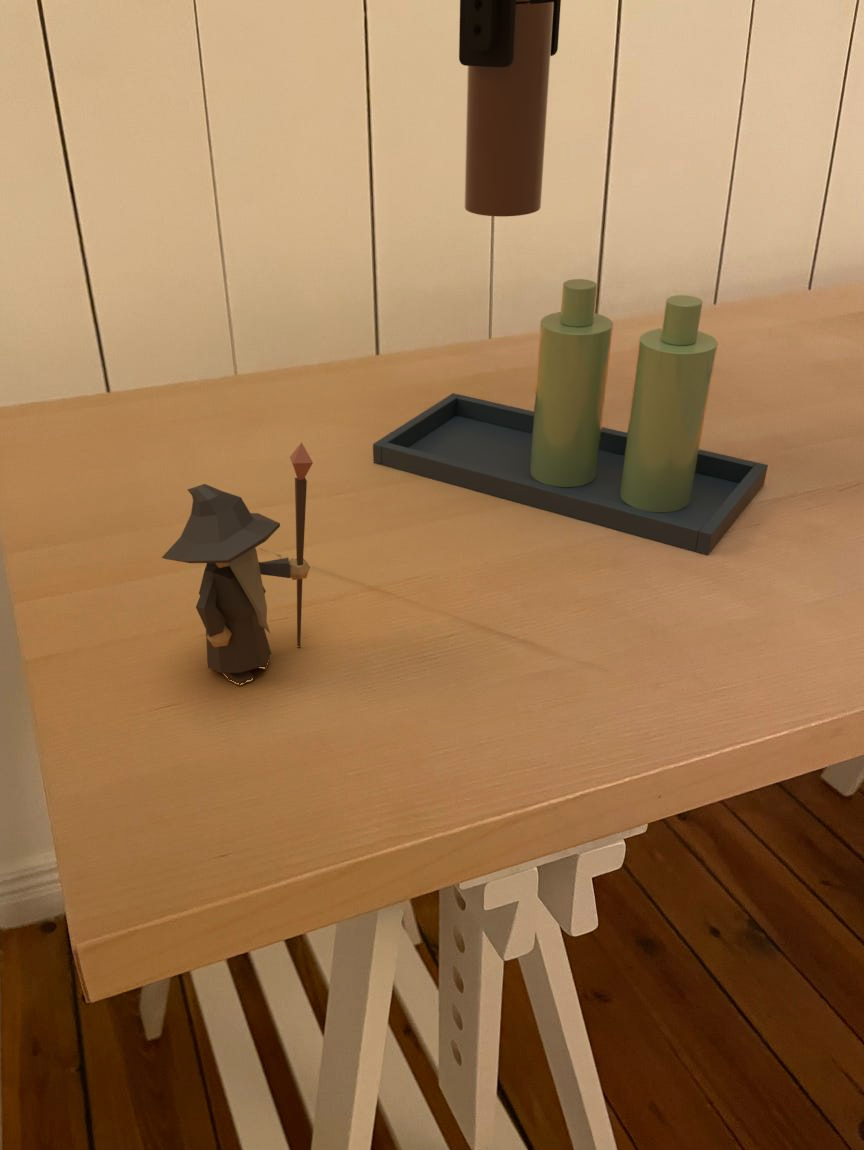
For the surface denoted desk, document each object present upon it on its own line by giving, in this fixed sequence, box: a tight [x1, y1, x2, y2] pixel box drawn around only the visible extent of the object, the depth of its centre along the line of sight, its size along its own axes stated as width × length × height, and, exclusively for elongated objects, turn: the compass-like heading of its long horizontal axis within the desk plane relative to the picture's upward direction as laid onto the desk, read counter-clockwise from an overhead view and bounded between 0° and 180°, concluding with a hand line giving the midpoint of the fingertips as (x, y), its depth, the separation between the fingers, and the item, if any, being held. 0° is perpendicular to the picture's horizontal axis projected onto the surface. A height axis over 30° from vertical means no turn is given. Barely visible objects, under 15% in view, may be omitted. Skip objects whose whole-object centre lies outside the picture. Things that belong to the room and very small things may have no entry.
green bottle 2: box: [620, 294, 719, 513], centre depth 66 cm, size 5×5×14 cm
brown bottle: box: [463, 0, 554, 218], centre depth 60 cm, size 5×5×14 cm
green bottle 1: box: [530, 278, 614, 487], centre depth 69 cm, size 5×5×14 cm
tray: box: [372, 392, 769, 556], centre depth 73 cm, size 26×12×2 cm, turn 56°
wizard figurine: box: [161, 442, 314, 685], centre depth 53 cm, size 8×6×12 cm
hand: (509, 56), depth 59 cm, fingers closed on brown bottle, 4 cm apart
